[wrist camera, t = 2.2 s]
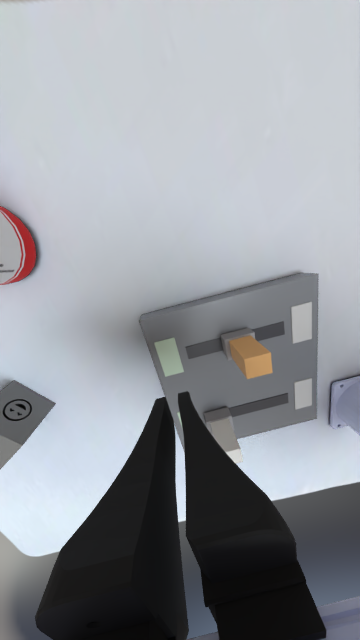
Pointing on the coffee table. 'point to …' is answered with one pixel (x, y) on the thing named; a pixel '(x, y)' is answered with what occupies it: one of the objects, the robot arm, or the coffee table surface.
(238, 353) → the orange lever
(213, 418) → the white lever
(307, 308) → the slider lever panel
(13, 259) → the beer can
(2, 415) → the dice cube
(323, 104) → the coffee table surface
